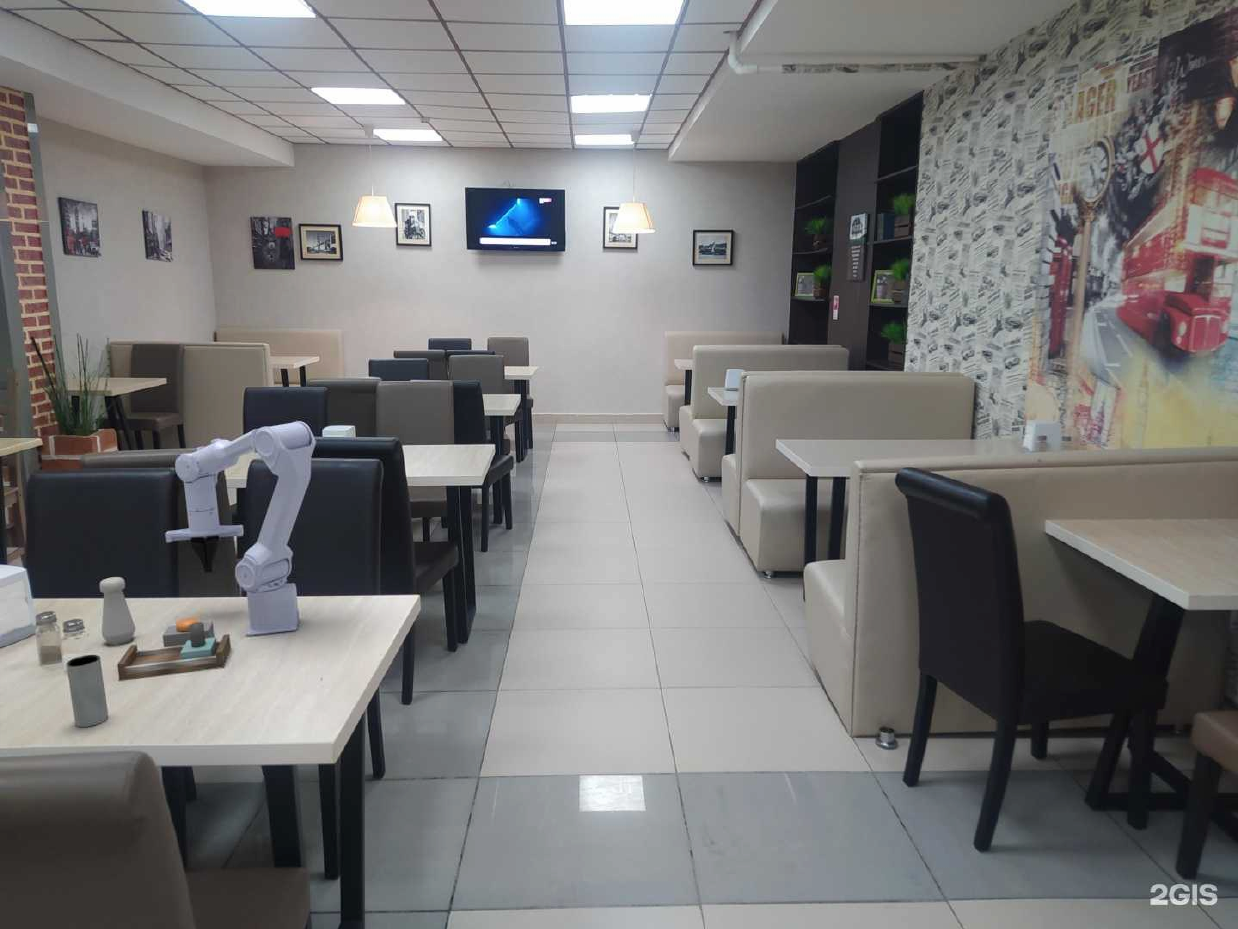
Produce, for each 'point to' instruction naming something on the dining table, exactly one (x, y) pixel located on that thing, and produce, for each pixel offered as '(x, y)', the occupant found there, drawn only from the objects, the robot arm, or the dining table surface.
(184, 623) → the button
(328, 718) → the dining table surface
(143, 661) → the rail board
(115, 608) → the salt shaker
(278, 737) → the dining table surface
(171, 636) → the grey rectangular block
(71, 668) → the planter
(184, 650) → the blue block with peg
